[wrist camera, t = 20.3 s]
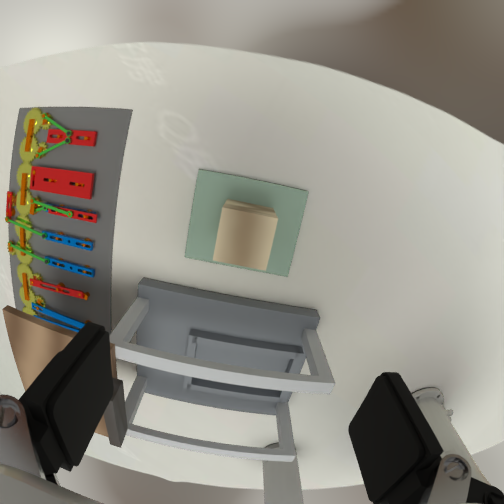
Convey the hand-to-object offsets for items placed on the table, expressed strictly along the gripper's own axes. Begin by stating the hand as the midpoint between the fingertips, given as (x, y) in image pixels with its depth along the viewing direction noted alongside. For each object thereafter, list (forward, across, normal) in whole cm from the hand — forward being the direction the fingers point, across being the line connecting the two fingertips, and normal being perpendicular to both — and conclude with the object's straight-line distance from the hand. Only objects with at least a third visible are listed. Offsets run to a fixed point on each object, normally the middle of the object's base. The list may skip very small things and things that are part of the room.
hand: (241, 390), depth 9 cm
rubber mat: (+25, 0, 0) cm, 25 cm away
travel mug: (+26, -14, +40) cm, 49 cm away
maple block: (+25, 0, 0) cm, 25 cm away
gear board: (+26, +26, +11) cm, 38 cm away
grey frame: (+26, 0, +18) cm, 31 cm away
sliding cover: (+13, +17, +18) cm, 28 cm away
